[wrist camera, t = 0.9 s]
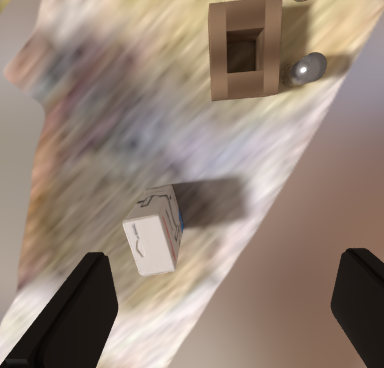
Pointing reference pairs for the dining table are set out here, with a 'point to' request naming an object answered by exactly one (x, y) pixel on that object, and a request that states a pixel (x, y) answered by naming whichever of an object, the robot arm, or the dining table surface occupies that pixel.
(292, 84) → the short steel pin
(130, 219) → the ink box
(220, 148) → the dining table surface
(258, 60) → the walnut hole block
